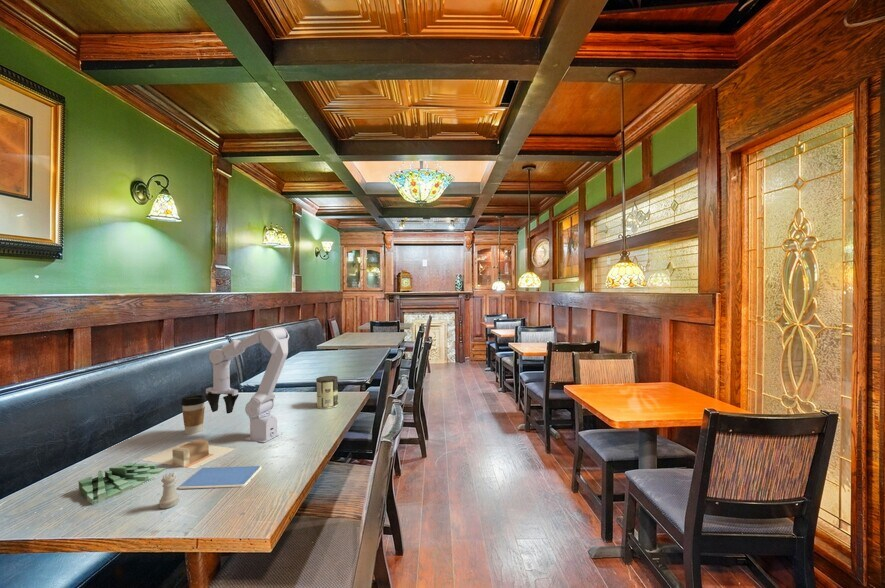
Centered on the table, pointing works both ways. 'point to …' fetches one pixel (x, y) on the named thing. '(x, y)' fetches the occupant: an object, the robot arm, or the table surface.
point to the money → (117, 481)
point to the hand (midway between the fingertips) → (222, 412)
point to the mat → (167, 458)
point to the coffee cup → (193, 413)
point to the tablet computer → (221, 477)
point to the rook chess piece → (168, 492)
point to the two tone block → (190, 452)
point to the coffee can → (327, 392)
